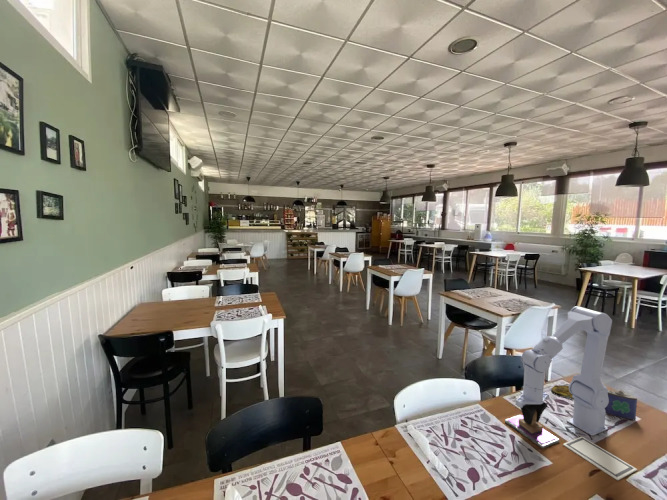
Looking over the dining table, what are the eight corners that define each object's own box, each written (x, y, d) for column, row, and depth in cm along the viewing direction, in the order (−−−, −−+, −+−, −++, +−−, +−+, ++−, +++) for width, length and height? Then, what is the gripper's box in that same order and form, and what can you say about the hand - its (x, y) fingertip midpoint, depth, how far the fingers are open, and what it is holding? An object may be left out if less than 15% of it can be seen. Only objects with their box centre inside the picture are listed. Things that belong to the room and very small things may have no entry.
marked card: (581, 437, 96) (581, 436, 96) (636, 470, 83) (637, 468, 83) (563, 444, 92) (563, 443, 92) (617, 480, 79) (617, 478, 79)
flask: (633, 417, 106) (636, 391, 105) (637, 422, 103) (639, 395, 103) (601, 410, 110) (603, 384, 110) (604, 414, 108) (606, 388, 107)
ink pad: (520, 416, 106) (520, 413, 106) (559, 442, 94) (559, 438, 94) (504, 422, 103) (505, 418, 103) (542, 448, 91) (542, 444, 91)
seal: (562, 402, 117) (594, 400, 119) (563, 393, 116) (596, 391, 118) (544, 388, 126) (574, 386, 128) (545, 378, 126) (575, 377, 127)
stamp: (529, 421, 102) (529, 405, 101) (542, 431, 97) (543, 414, 96) (518, 424, 100) (519, 407, 100) (531, 434, 95) (532, 416, 95)
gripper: (535, 375, 103) (533, 410, 104) (508, 382, 98) (506, 418, 99) (556, 385, 97) (553, 422, 98) (527, 393, 92) (525, 432, 93)
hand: (531, 421), depth 98 cm, fingers closed on stamp, 3 cm apart
